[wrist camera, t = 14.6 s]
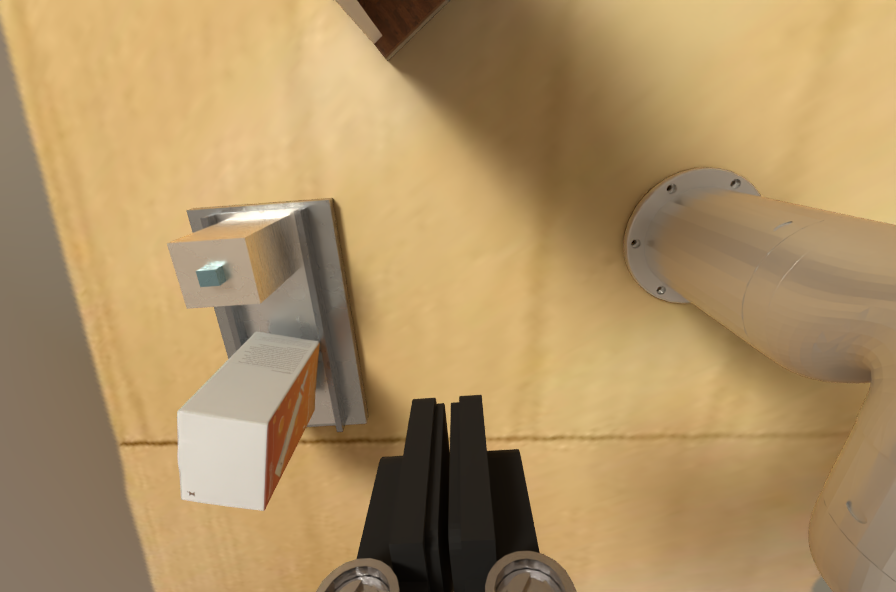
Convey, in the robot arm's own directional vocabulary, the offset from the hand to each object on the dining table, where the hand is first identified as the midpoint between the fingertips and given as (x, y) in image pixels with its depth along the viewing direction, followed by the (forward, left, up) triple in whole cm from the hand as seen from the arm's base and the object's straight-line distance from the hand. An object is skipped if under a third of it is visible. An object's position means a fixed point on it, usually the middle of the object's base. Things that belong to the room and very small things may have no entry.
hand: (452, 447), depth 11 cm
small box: (+17, +14, -29) cm, 36 cm away
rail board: (+17, +10, -32) cm, 38 cm away
